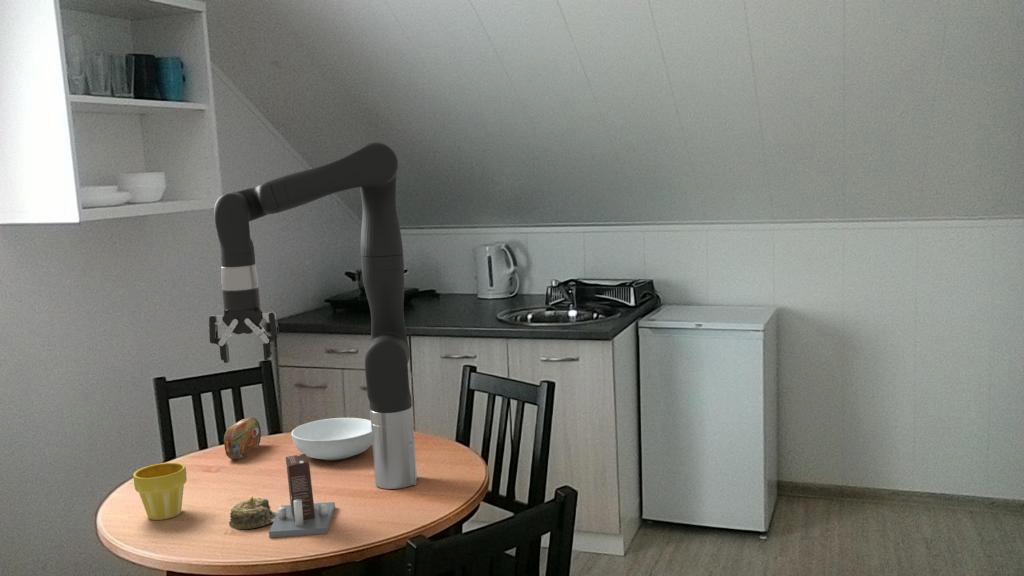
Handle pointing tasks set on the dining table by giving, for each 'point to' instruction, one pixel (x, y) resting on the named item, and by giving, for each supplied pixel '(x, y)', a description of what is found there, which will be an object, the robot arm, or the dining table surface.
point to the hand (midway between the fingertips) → (246, 361)
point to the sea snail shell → (251, 514)
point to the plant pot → (161, 489)
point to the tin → (242, 438)
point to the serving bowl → (333, 438)
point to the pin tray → (307, 528)
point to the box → (300, 484)
